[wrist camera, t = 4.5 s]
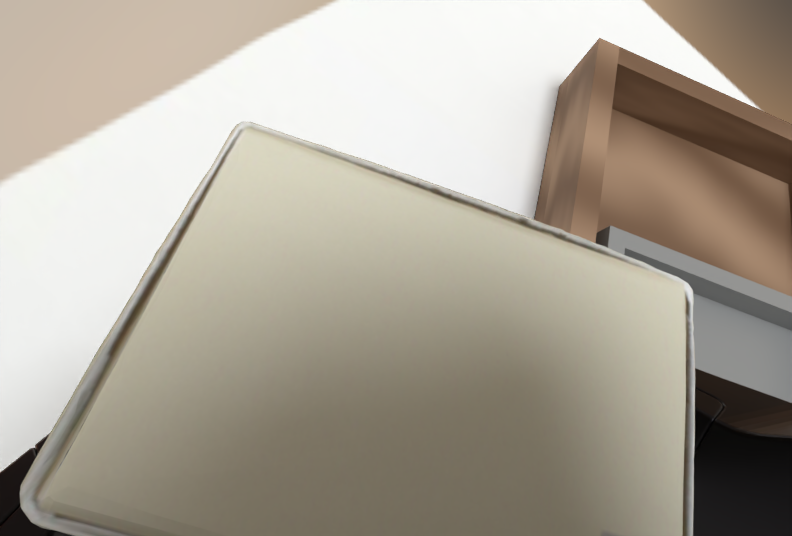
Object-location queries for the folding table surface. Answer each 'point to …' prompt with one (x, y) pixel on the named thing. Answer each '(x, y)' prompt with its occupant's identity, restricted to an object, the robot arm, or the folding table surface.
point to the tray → (725, 317)
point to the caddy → (670, 166)
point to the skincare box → (376, 370)
